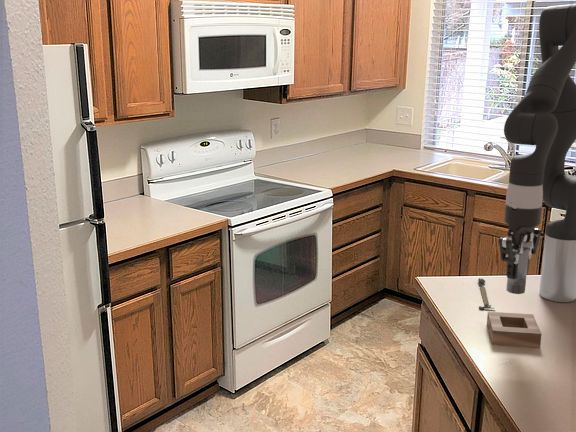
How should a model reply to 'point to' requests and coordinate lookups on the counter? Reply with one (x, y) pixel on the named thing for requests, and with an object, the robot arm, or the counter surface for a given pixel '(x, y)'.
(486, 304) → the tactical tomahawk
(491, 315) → the socket block
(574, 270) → the robot arm
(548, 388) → the counter surface
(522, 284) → the pin
